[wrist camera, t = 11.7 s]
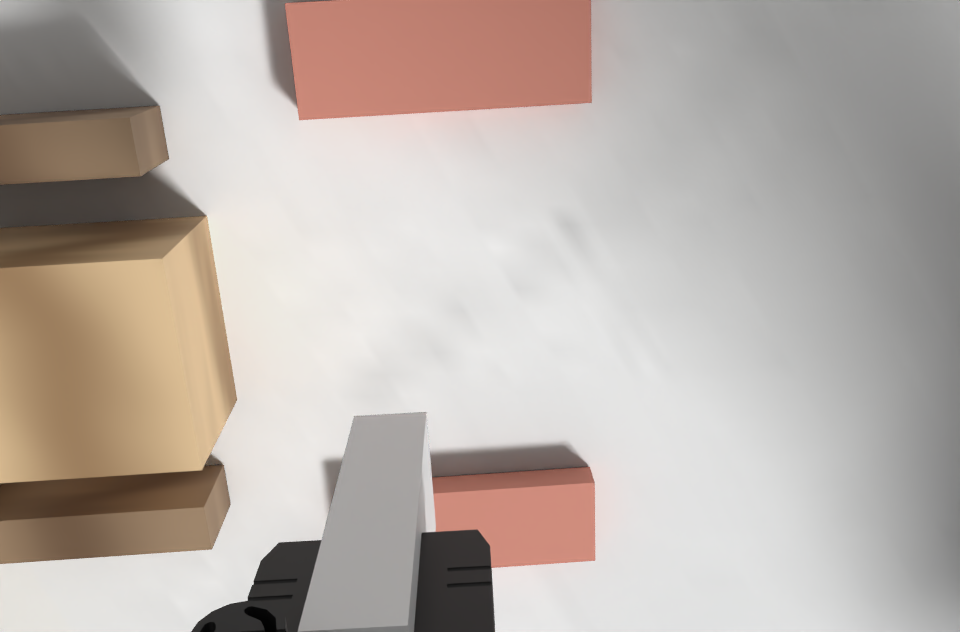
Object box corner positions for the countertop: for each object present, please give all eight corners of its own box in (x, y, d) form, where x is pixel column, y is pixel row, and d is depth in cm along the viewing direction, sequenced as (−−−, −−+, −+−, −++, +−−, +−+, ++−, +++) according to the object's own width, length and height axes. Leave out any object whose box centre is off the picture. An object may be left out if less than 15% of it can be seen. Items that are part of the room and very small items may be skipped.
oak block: (208, 214, 26) (162, 258, 22) (237, 397, 28) (201, 470, 24) (3, 226, 26) (-84, 273, 21) (49, 409, 28) (-22, 484, 24)
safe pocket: (159, 105, 24) (129, 117, 22) (230, 504, 29) (212, 549, 27) (-148, 123, 24) (-211, 137, 22) (-28, 521, 29) (-69, 568, 26)
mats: (584, -14, 24) (590, -15, 23) (590, 542, 30) (595, 560, 29) (291, 2, 24) (284, 3, 23) (358, 558, 30) (355, 577, 29)
